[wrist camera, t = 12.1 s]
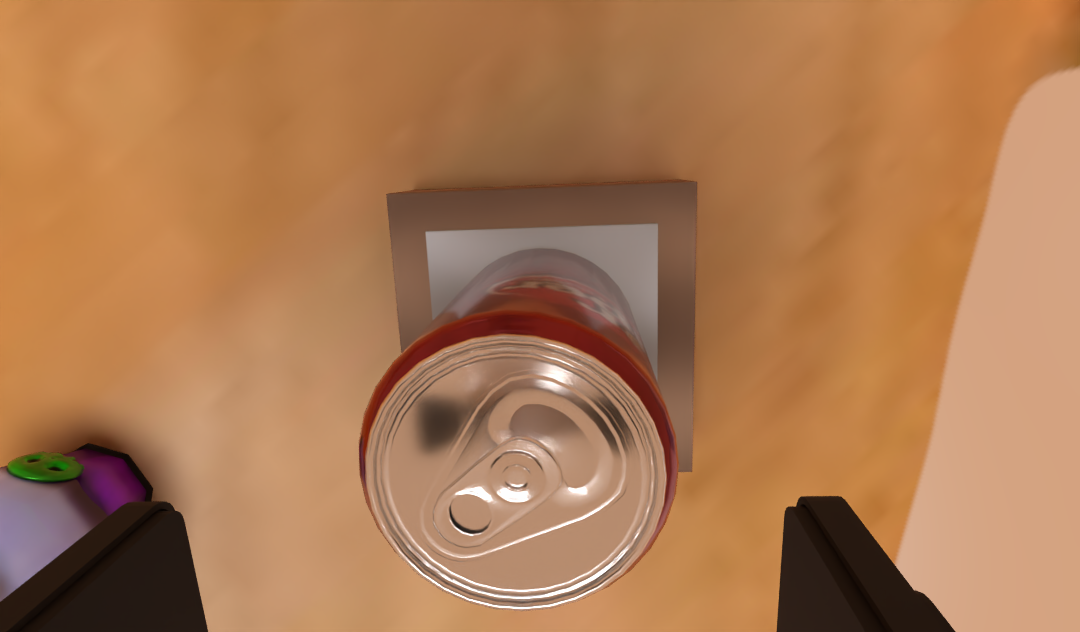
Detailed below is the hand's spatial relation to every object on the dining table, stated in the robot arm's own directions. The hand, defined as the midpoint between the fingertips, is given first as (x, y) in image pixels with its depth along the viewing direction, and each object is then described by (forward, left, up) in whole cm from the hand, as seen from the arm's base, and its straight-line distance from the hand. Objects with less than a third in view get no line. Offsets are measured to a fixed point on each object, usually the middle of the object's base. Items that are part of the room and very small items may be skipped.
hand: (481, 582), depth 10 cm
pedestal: (+1, 0, -20) cm, 20 cm away
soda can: (0, 0, -16) cm, 16 cm away
